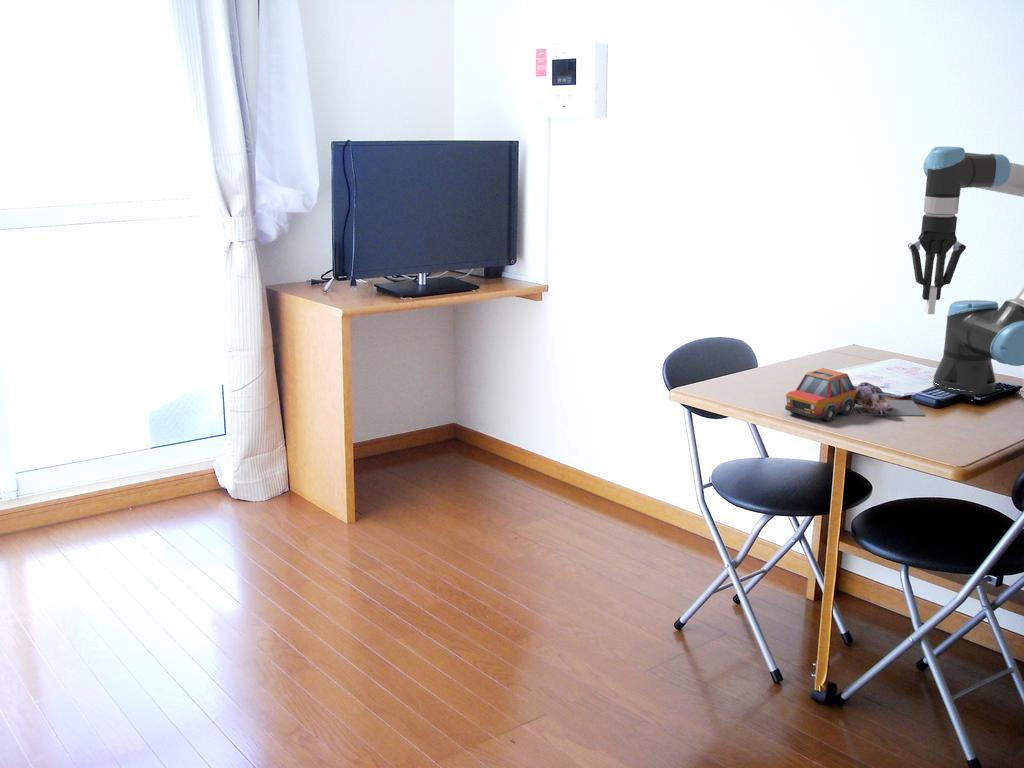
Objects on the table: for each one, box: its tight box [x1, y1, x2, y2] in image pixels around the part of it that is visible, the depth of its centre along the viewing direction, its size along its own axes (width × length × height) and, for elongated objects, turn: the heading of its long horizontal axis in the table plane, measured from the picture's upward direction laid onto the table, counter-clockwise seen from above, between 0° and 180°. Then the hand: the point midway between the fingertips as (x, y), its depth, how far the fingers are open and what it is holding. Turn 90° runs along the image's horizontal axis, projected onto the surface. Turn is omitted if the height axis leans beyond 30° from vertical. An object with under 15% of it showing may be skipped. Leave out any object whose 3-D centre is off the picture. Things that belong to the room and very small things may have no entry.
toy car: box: [784, 367, 858, 423], centre depth 256 cm, size 12×17×10 cm
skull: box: [854, 381, 893, 416], centre depth 256 cm, size 12×8×6 cm, turn 10°
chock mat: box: [854, 399, 926, 417], centre depth 260 cm, size 15×12×1 cm
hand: (929, 312), depth 251 cm, fingers closed
